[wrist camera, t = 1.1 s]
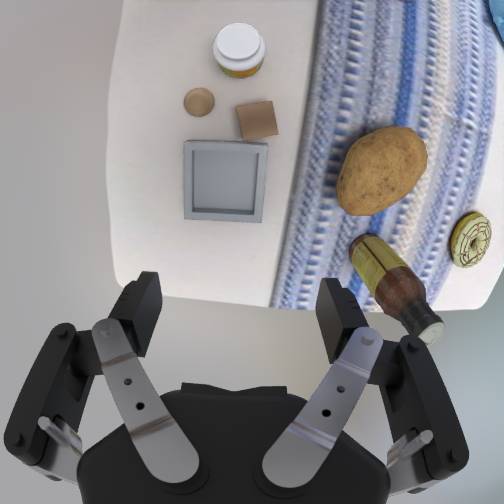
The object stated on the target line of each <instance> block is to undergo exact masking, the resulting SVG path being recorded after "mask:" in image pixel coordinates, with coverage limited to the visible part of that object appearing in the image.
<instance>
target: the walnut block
mask: <svg viewBox="0 0 504 504" xmlns="http://www.w3.org/2000/svg"><path fill="white" fill-rule="evenodd" d="M236 109H237V113H238V118H239V123H240V128H241V132H242V137H243V141H244V140H249V139H255V138H260V137H266V136H272V135H278V129H277V124H276V118H275V113H274V108H273V103H272V101H268V102H261V103H256V104H250V105H245V106H240V107H236Z"/></svg>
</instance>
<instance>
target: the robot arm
mask: <svg viewBox="0 0 504 504" xmlns="http://www.w3.org/2000/svg"><path fill="white" fill-rule="evenodd" d="M400 1H403V2H408V3H411V2H416V1H418V0H400ZM161 308H162V293H161V287H160V281H159V275H158V273H157V272H148V271H142V272H141V274H140V276H139V278H138V279H137V281H131V282H130V283H129V284H128V285H126V286H125V288H124V290H123V292H122V294H121V295H120V297H119V298H118V300H117V302H116V304H115V305H114V307H113V309H112V311H111V313H110V315H109V316H108V318H106V319H102V320H100V321H98V322H97V323H96V324H95V325H94V326H93V328H92V330H86V331H76V329H75V327H74V325H72V324H70V323H61V324H59V325H57V326H55V327H54V328H53V329H52V331H51V332H50V334H49V336H48V338H47V339H46V341H45V343H44V345H43V347H42V349H41V350H40V352H39V354H38V356H37V358H36V360H35V362H34V364H33V366H32V368H31V370H30V372H29V374H28V376H27V378H26V381H25V383H24V385H23V387H22V389H21V392H20V394H19V396H18V399H17V401H16V403H15V406H14V408H13V411H12V413H11V416H10V419H9V422H8V424H7V427H6V430H5V433H4V444H5V446H6V449H7V450H8V451H9V452H10V453H11V454H12V455H14V456H15V457H16V458H18V459H19V460H21V461H22V462H23V463H24V464H25V465H27V466H28V467H30V468H32V469H33V470H35V471H36V472H38V473H40V474H42V475H44V476H46V477H48V478H50V479H51V480H54V481H61V480H64V481H67V482H70V483H72V484H75V485H78V486H79V489H80V492H81V496H82V501H83V504H386V502H387V499H388V497H390V496H394V495H397V494H400V493H404V492H408V493H412V494H416V493H419V492H421V491H423V490H425V489H427V488H429V487H431V486H433V485H435V484H437V483H439V482H441V481H443V480H445V479H446V478H448V477H450V476H452V475H453V474H455V473H457V472H458V471H460V470H461V469H463V468H464V467H465V466H466V464H467V462H468V459H469V450H468V446H467V443H466V440H465V437H464V434H463V431H462V428H461V426H460V423H459V420H458V417H457V415H456V412H455V409H454V407H453V404H452V402H451V399H450V397H449V394H448V392H447V390H446V387H445V385H444V383H443V380H442V378H441V376H440V374H439V372H438V369H437V367H436V365H435V363H434V361H433V358H432V356H431V354H430V352H429V350H428V348H427V346H426V344H425V343H424V341H423V340H422V339H420V338H419V337H417V336H414V335H406V336H403V337H402V338H401V340H400V342H393V341H387V340H384V339H383V338H382V336H381V334H380V333H379V332H378V331H377V330H375V329H373V328H370V327H369V325H368V323H367V321H366V319H365V317H364V315H363V312H362V310H361V308H360V306H359V304H358V303H357V300H356V298H355V296H354V294H353V293H352V292H351V291H350V290H349V289H348V288H342V286H341V284H340V282H339V280H338V278H322V280H321V283H320V288H319V292H318V297H317V301H316V316H317V319H318V322H319V326H320V329H321V333H322V337H323V340H324V344H325V347H326V351H327V355H328V359H329V363H330V364H333V365H332V366H331V368H330V369H329V371H328V373H327V374H326V376H325V377H324V379H323V380H322V382H321V383H320V385H319V386H318V388H317V389H316V391H315V392H314V394H313V395H312V396H311V398H310V399H309V401H307V400H305V399H303V398H301V397H299V396H296V395H293V394H288V393H287V387H286V386H268V387H267V386H264V387H263V386H262V387H256V388H252V389H246V390H241V391H229V390H225V389H221V388H218V387H214V386H211V385H206V384H193V383H182V386H181V390H175V391H171V392H168V393H165V394H163V395H161V396H159V395H158V394H157V392H156V390H155V388H154V387H153V385H152V383H151V381H150V380H149V378H148V376H147V374H146V373H145V371H144V369H143V367H142V365H141V363H140V361H139V359H138V357H145V355H146V352H147V349H148V346H149V343H150V340H151V337H152V334H153V331H154V328H155V326H156V323H157V320H158V317H159V314H160V312H161ZM95 375H104V376H105V379H106V381H107V384H108V386H109V389H110V391H111V394H112V396H113V399H114V401H115V403H116V405H117V408H118V410H119V412H120V414H121V416H122V419H123V421H124V424H122V425H121V426H119V427H118V428H117V429H115V430H114V431H113V432H111V433H110V434H109V435H107V436H106V437H104V438H103V439H102V440H100V441H99V442H98V443H96V444H95V445H94V446H92V447H91V448H89V449H88V450H87V451H86V452H84V454H82V440H81V438H80V437H79V435H78V434H77V432H78V428H79V425H80V421H81V417H82V414H83V411H84V407H85V404H86V401H87V397H88V395H89V392H90V388H91V385H92V383H93V380H94V377H95ZM366 383H368V384H374V385H379V388H380V392H381V395H382V399H383V402H384V406H385V410H386V414H387V418H388V421H389V426H390V430H391V434H392V438H393V443H394V444H393V445H392V446H391V448H390V449H389V451H388V454H387V465H386V466H385V465H384V464H383V463H382V462H381V461H380V460H379V459H378V458H377V457H375V456H374V455H373V454H371V453H370V452H369V451H368V450H366V449H365V448H364V447H362V446H361V445H360V444H359V443H358V442H356V441H355V440H354V439H353V438H351V437H350V436H349V435H348V434H347V433H345V432H344V431H343V430H342V429H343V428H344V426H345V424H346V422H347V421H348V419H349V417H350V415H351V413H352V411H353V409H354V407H355V405H356V404H357V401H358V400H359V398H360V396H361V394H362V392H363V390H364V387H365V385H366Z"/></svg>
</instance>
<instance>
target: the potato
mask: <svg viewBox="0 0 504 504" xmlns="http://www.w3.org/2000/svg"><path fill="white" fill-rule="evenodd" d="M427 156H428V155H427V151H426V147H425V144H424V141H423V140H422V139H421V138H420V137H419V136H418V135H417V134H416V132H415V131H413V130H412V129H411V128H408V127H400V126H388V127H384V128H380V129H378V130H376V131H373V132H371V133H369V134H367V135H365V136H363V137H362V138H360V139H358V140H357V141H356V142H355V143H354V144H353V145H352V147H351V148H350V149H349V151H348V152H347V155H346V158H345V161H344V163H343V166H342V169H341V171H340V174H339V177H338V182H337V187H336V188H337V196H338V205H339V206H340V207H341V208H343V209H344V210H345V211H346V212H347V213H348V214H349V215H352V216H371V215H373V214H375V213H378V212H380V211H382V210H384V209H386V208H388V207H389V206H391V205H393V204H395V203H396V202H398V201H399V200H401V199H402V198H403V197H404V196H406V195H407V194H408V193H409V192H410V191H412V189H413V188H414V186H415V185H416V183H417V182H418V180H419V179H420V177H421V176H422V174H423V173H424V171H425V169H426V167H427Z"/></svg>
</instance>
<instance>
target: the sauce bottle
mask: <svg viewBox="0 0 504 504" xmlns="http://www.w3.org/2000/svg"><path fill="white" fill-rule="evenodd" d="M349 253H350V254H349V255H350V260H351V262H352V264H353V266H354V268H355V270H356V271H357V273H358V274H359V276H360V277H361V279H362V280H363V282H364V283H365V285H366V286H367V288H368V289H369V291H370V293H371V294H372V296H373V297H374V299H375V300H376V302H377V303H378V304H379V305H380V306H381V308H382V309H383V311H384V313H385V314H387V315H389V316H391V317H393V318H395V319H396V320H399V321H400V322H401V323H402V325H403V326H404V327H405V328H406V330H407V331H408V333H409V335H414V336H417V337H419V338H420V339H422V340H423V341H424V343H425V344H426V346H427V348H429V347H431V346H433V345H434V344H435V343H437V342H438V340H439V339H440V338H441V337H442V335H443V333H444V331H445V324H444V322H443V321H442V320H441V318H440V317H439V316H438V315H436V314H435V313H434V312H433V311H432V309H431V308H430V307H429V304H428V303H427V302H426V289H425V286H424V285H423V283H422V282H421V281H420V279H419V278H418V277H417V276H416V275H415V274H414V272H413V271H412V269H411V268H410V267H409V266H408V265H407V264H406V263H405V262H404V261H403V260H402V259H401V258H400V257H399V256H398V255H397V254H396V253H395V251H394V250H393V249H392V248H391V247H390V246H389V245H388V244H387V243H386V242H385V241H384V240H383V239H381V238H379V237H378V236H376V235H374V234H366V235H363V236H361V237H359V238H357V239H356V240H355V241H354V243H353V244H352V246H351V248H350V252H349Z"/></svg>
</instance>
